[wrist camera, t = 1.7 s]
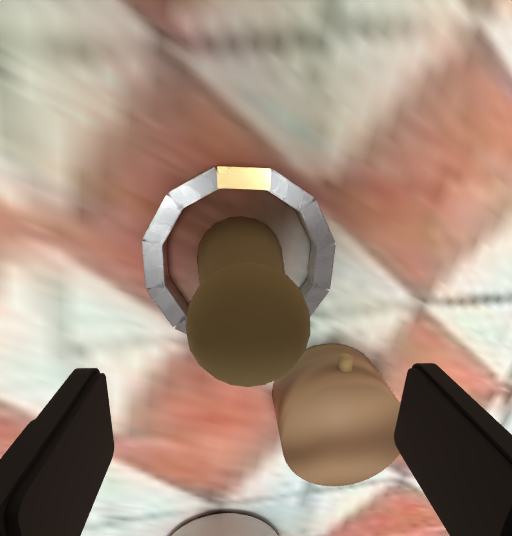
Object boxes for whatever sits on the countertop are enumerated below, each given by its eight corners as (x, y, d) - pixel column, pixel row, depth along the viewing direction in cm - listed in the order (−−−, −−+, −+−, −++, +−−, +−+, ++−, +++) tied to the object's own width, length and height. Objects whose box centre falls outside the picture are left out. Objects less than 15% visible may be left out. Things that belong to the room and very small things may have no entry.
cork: (213, 203, 20) (198, 245, 10) (295, 234, 22) (359, 300, 11) (185, 283, 22) (148, 391, 12) (263, 308, 23) (293, 426, 13)
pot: (276, 335, 24) (288, 377, 19) (386, 334, 25) (423, 374, 20) (269, 439, 27) (277, 497, 23) (365, 435, 28) (393, 490, 24)
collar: (143, 162, 19) (132, 162, 17) (336, 171, 20) (348, 172, 18) (155, 336, 23) (148, 354, 21) (316, 335, 24) (324, 351, 22)
